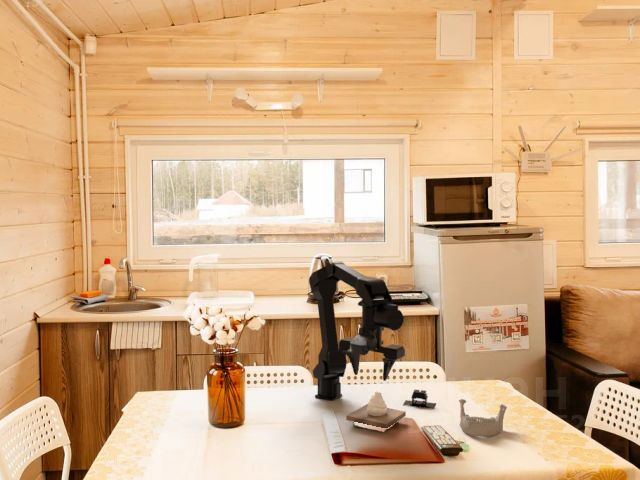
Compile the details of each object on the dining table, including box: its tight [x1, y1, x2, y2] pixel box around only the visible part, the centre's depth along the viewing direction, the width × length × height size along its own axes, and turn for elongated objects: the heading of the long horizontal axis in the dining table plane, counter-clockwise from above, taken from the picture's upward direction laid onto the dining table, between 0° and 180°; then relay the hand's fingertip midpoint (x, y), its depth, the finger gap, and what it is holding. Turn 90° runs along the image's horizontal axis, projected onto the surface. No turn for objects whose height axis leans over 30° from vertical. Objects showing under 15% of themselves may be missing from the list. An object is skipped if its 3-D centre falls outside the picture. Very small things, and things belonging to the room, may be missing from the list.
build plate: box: [402, 389, 437, 410], centre depth 186 cm, size 12×7×5 cm, turn 72°
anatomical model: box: [458, 398, 508, 438], centre depth 164 cm, size 13×11×10 cm
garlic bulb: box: [367, 390, 388, 416], centre depth 168 cm, size 6×6×5 cm
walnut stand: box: [345, 403, 407, 428], centre depth 168 cm, size 12×12×3 cm
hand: (370, 377), depth 175 cm, fingers open, 9 cm apart
